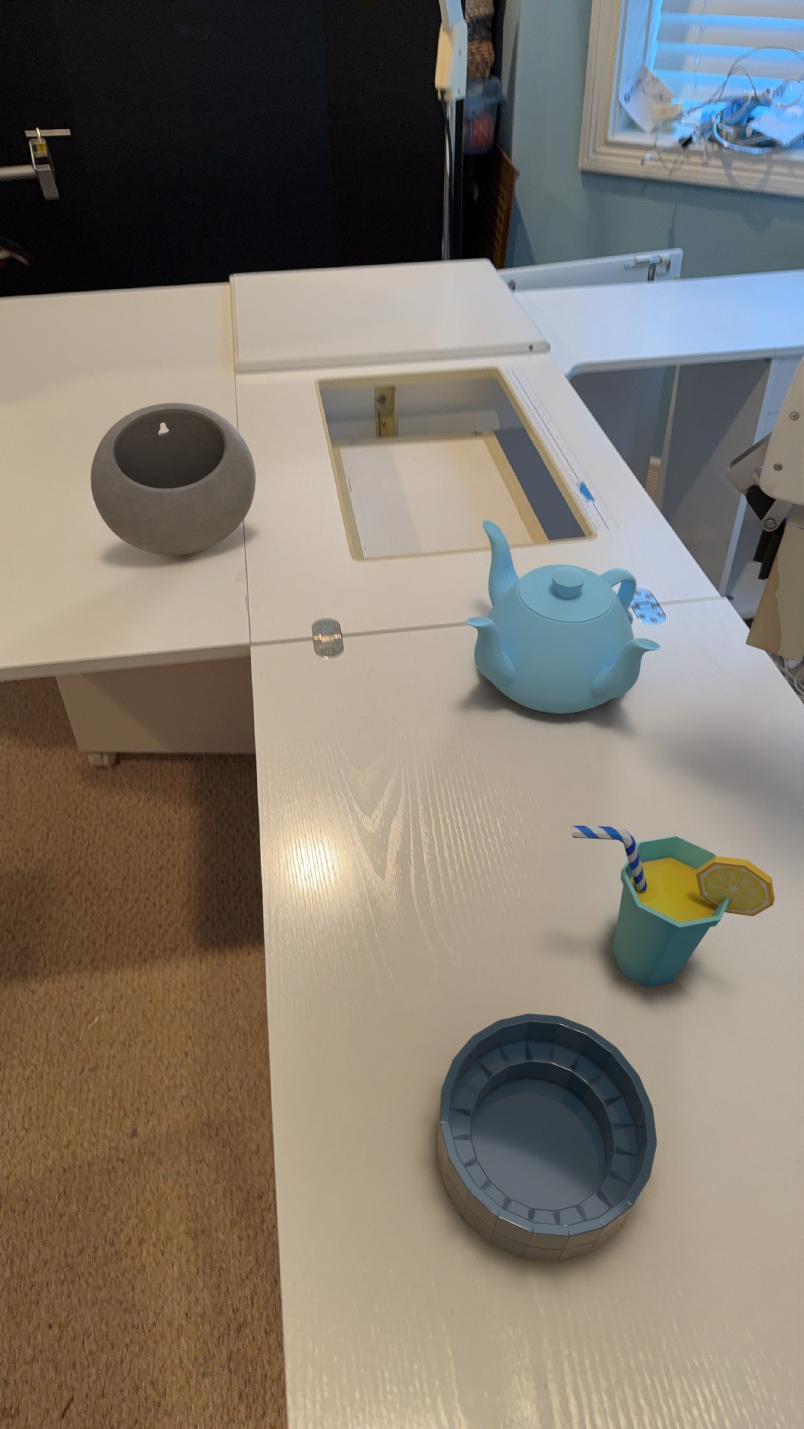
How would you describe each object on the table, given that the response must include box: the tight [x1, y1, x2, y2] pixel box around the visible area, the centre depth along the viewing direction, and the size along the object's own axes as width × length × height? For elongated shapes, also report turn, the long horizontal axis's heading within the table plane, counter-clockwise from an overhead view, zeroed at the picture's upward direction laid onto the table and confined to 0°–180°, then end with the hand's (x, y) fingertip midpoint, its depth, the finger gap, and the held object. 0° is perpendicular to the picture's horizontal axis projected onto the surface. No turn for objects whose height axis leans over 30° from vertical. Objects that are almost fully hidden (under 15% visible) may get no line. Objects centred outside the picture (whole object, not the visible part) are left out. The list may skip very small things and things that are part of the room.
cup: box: [571, 825, 776, 988], centre depth 63 cm, size 14×8×15 cm, turn 79°
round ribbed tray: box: [436, 1013, 658, 1263], centre depth 56 cm, size 13×13×6 cm
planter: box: [90, 402, 257, 556], centre depth 100 cm, size 18×7×19 cm, turn 110°
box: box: [745, 504, 804, 662], centre depth 65 cm, size 5×4×11 cm
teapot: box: [465, 519, 661, 715], centre depth 88 cm, size 17×19×12 cm
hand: (803, 576), depth 65 cm, fingers closed on box, 4 cm apart
